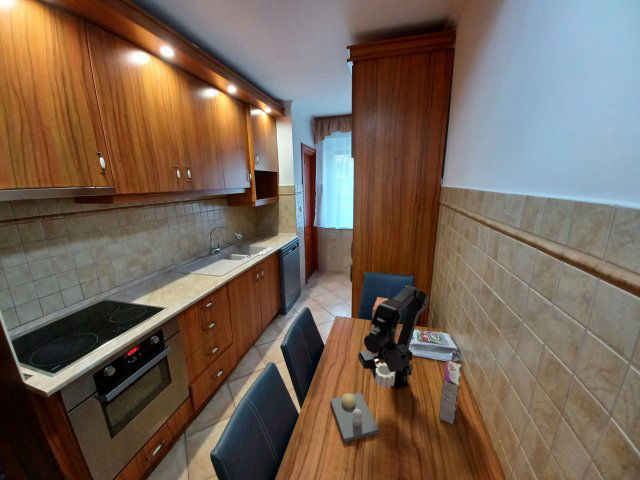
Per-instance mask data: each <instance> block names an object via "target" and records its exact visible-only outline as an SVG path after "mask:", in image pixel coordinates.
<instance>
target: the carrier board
mask: <svg viewBox="0 0 640 480" xmlns="http://www.w3.org/2000/svg"><path fill="white" fill-rule="evenodd" d="M330 405H331V408H332V411H333V414H334V417H335V420H336V423H337V425H338V429H339V431H340V435H341V437H342V440H343V443H347V442H350V441H351V442H352V441H354V440H358V439H362V438H365V437H369V436H373V435H376V434H379V432H380V429H379V426H378V424H377V422H376V420H375V419H374V416H373V415H372V413H371V410H370V409H369V407H368V405H367V403H366V401H365V399H364V397H363V394H362V393H361V392H357V393H350V392H349V393H344V394H343V395H342V396H338V397H334V398H331V399H330Z"/></svg>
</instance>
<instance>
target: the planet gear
mask: <svg viewBox="0 0 640 480" xmlns="http://www.w3.org/2000/svg"><path fill="white" fill-rule="evenodd" d="M375 364H376V363H375ZM376 366H377V367H378V368H376V378H375V379H374V378H373V382H374V383H376V385H377V386H378V387H380V386H381V387H382V388H383V389H385V388H386V387H387V389H388V388H391V387H394V386H393V385H394V383H395V372H390V371H389V369H388V367H387V364H386V362H378V364H376Z"/></svg>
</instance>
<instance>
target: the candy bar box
mask: <svg viewBox="0 0 640 480" xmlns="http://www.w3.org/2000/svg"><path fill="white" fill-rule="evenodd" d="M461 373H462V364H460V363H457V362H454V361H451V360H449V359H448V360H446V363H445V369H444V374H443V382H442V389H441V395H440V396H441V397H440V405H439V416H438V418H439V420H441V421H444V422H446V423H448V424H450V425H451V426H452V425H453V426H454V425H455V420H456V419H455V418H456V414H457V407H458V398H459V392H460V391H459V390H460V384H461V376H462V375H461Z"/></svg>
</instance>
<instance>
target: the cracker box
mask: <svg viewBox="0 0 640 480" xmlns="http://www.w3.org/2000/svg"><path fill="white" fill-rule="evenodd" d="M385 300H389V298H386V297H385V298H384V297H380V296H379V297H378V296H377V298H376V300H375V303H374V305H373V307H372V315H371V316H372V318H371V319H373V316H374V314H375V311H376V308H377V306H378V305H379V304H380V303H382V302H383V301H385ZM377 320H379V321H381V322H382V321H384V320H382V319H379V318H378V319H377ZM374 329H375V325H372V324H371V331H372V330H374Z"/></svg>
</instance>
